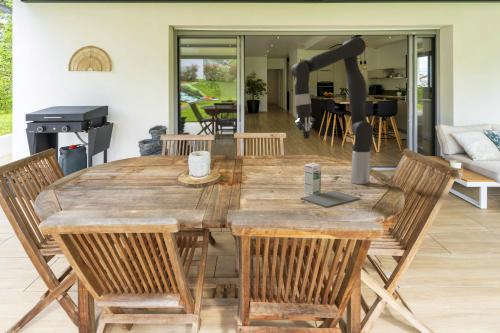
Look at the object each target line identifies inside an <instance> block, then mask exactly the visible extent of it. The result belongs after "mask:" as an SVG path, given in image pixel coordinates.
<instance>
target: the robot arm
mask: <svg viewBox="0 0 500 333" xmlns="http://www.w3.org/2000/svg"><path fill="white" fill-rule="evenodd" d="M366 44H367V43H366V42H365V40H364V39H363V38H362V37H359V36H354V37H352V38H348V39H346V40H344V41H343V43H342V45H340V46H338V47H336V48H332V49H330V50H327V51H324V52H321V53H319V54H316V55H314V56H311V57H309V58H307V59H304V60H302V61H298V62H297V63H295V64H293V65H292V66H291V67H290V74H291V76H292V77H294V78H296V79H295V81H296V82H295V84H294V95H295V96H294V99H295V100H294V102H295V103H294V104H295V110H296V114H297V120H295V121H294V124H295V126H296V127H297V128H298V130H299V131H302V133H303V135H302V136H303V138H304V140H305V139H310V135H311V134H310V130H312V129H313V127H314V124H315V121H316V118H313V117H312V114H311V113H313V112H312V100H311V95H310V87H309V86H310V85H309V83H310V75H311V73H313V72H316V71H319V70H322V69H325V68H327V67H328V66H330V65H333V64H335V63H337V62H340V61H342V60H343V62H344V69H345V74H346V77H345V78H346V85H347V92H348V93H347V94H348V100H349V101H348V102H349V107H350V114H351V115H350V119H351V132H352V134H353V135H354V143H353V145H352V147H351V148H352V149H351V150H352V152H351V170H350V183H352V184H356V185H368V184H369V183H370V179H371V177H370V176H371V163H370V160H371V159H370V158H371V148H372V144H373V138H374V126H373V125H372V123H371V122H369V121H367V117H366V111H365V110H366V105H367V104H366V102H367V96H368V94H367V92H368V91H367V84H366V80H365V76H364V74H363V73H362V71H361V69H360V67H359V61H358V56H361V55H362V54H363V53H364V52H365V50H366V47H367V46H366Z"/></svg>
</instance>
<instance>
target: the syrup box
mask: <svg viewBox="0 0 500 333" xmlns="http://www.w3.org/2000/svg"><path fill="white" fill-rule="evenodd" d="M303 168H304V170H303V171H304V172H303V173H304V178H303V180H304V184H303V185H304V187H303V188H304V189H303V191H304V192H303V193H304V194H306V195H308V196H311V195H316V194H320V193H322V191H321V190H322V188H321V186H322V164H319V163H315V162H313V163H306V164H304V167H303Z"/></svg>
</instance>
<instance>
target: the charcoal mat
mask: <svg viewBox="0 0 500 333" xmlns="http://www.w3.org/2000/svg"><path fill="white" fill-rule="evenodd" d="M300 200H303V201H305V202H308V203H311V204H314V205H318V206H320V207H323V208H330V207H333V206H339V205H342V204H346V203H347V204H348V203H349V202H353V201H357V200H361V197H359V196H355V195H352V194H349V193H345V192H341V191H338V190H331V191H326V192H321V193H320V194H316V195H308V196H303V197H301V198H300Z"/></svg>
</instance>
